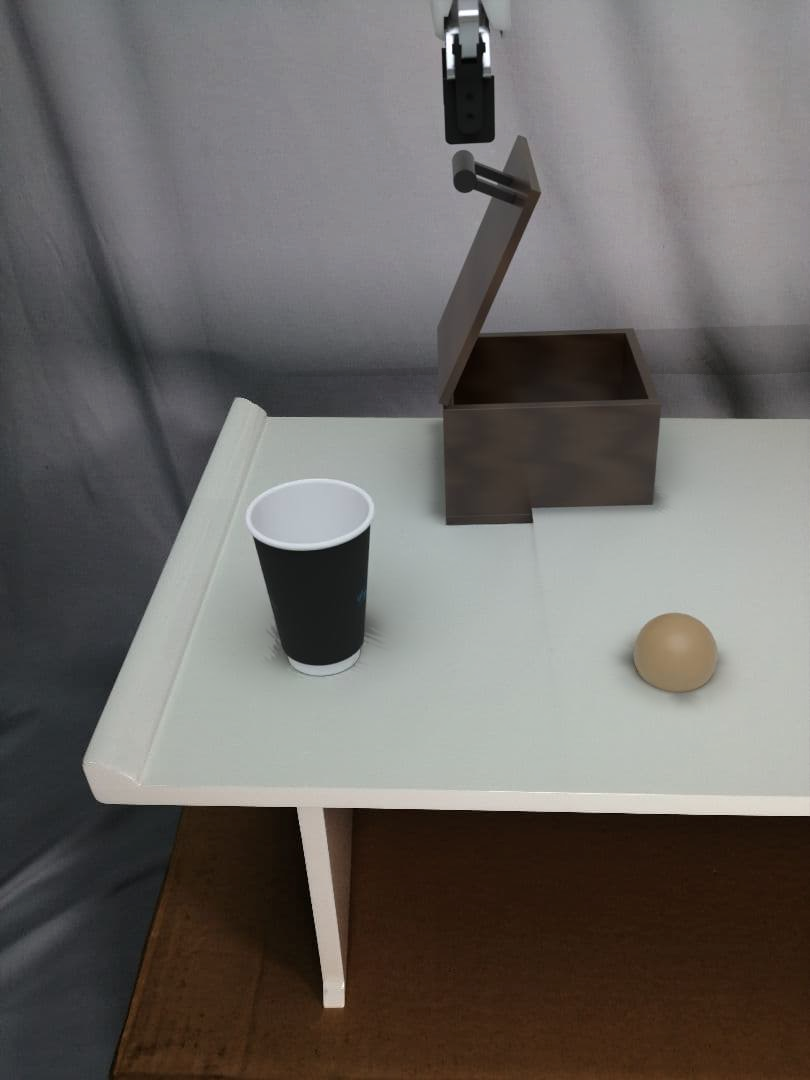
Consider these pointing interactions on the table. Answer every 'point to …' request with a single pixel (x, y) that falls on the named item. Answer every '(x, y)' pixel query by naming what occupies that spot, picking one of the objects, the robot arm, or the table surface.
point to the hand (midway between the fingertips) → (467, 123)
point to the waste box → (550, 425)
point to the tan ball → (675, 652)
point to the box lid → (484, 254)
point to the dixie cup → (315, 568)
